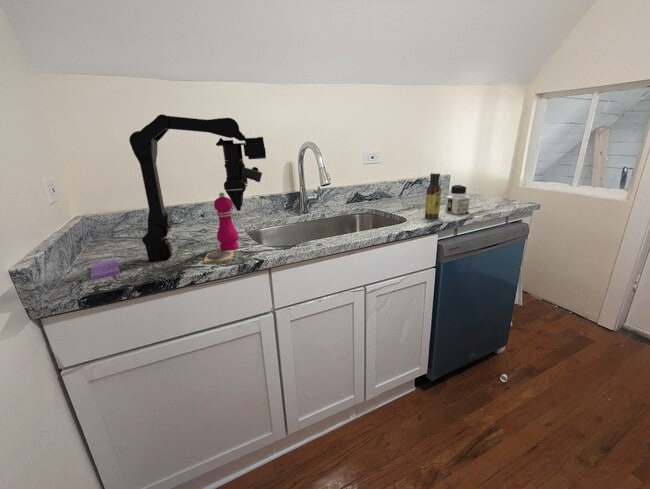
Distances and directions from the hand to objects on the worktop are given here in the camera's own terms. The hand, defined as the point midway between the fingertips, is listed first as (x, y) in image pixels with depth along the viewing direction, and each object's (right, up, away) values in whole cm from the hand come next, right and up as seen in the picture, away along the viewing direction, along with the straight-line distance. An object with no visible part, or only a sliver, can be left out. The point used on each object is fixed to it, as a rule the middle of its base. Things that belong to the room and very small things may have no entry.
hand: (239, 208), depth 104 cm
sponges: (-39, -21, -9) cm, 45 cm away
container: (+93, +3, +46) cm, 104 cm away
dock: (-6, -16, -2) cm, 18 cm away
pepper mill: (-5, -14, +6) cm, 16 cm away
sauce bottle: (+78, 0, +39) cm, 87 cm away
